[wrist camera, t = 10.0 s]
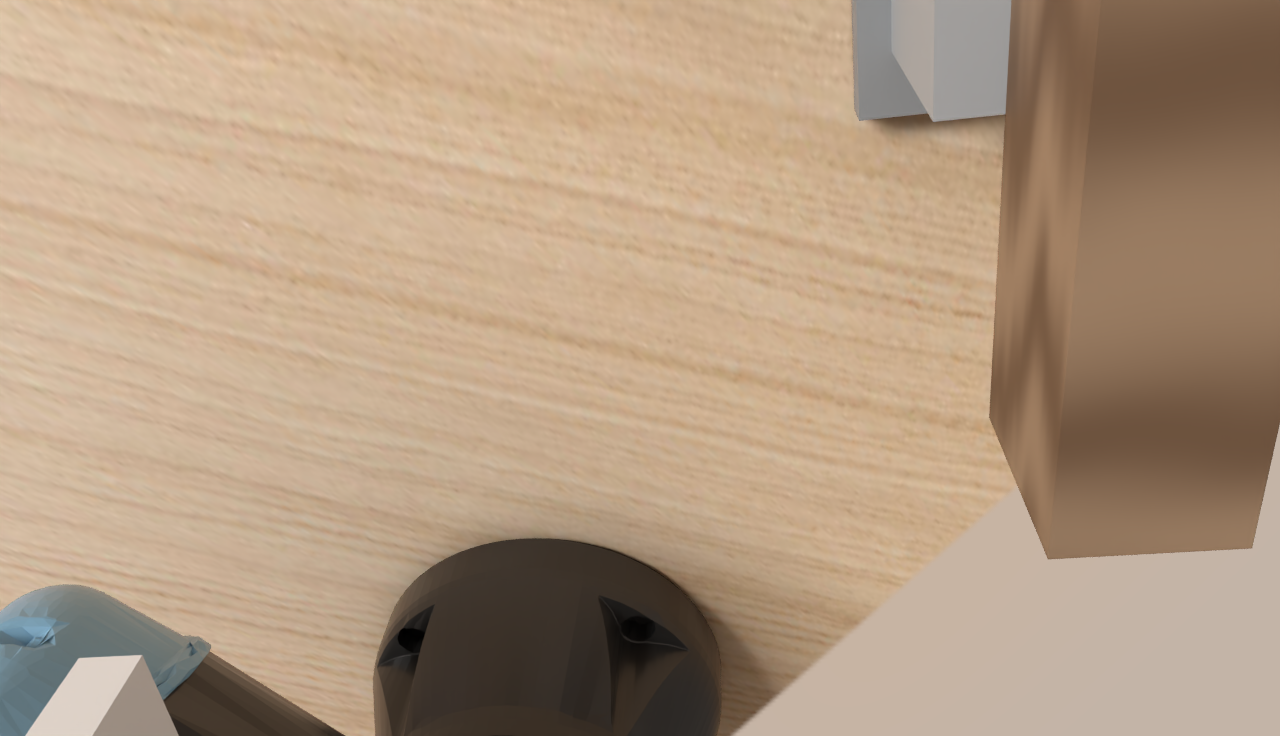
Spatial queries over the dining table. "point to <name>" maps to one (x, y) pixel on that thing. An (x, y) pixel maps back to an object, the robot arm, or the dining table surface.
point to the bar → (1140, 272)
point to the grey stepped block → (930, 58)
